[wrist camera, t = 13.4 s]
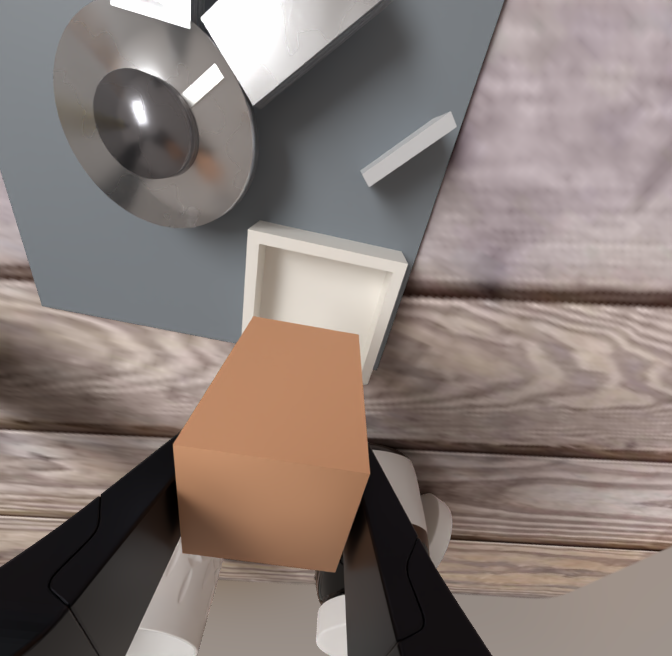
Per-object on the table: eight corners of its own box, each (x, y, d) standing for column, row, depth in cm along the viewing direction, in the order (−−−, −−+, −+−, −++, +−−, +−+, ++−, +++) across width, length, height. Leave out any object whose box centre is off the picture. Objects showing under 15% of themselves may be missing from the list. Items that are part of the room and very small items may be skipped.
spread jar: (327, 425, 25) (312, 604, 15) (462, 438, 26) (536, 624, 15) (318, 507, 31) (303, 675, 21) (428, 517, 32) (464, 689, 21)
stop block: (247, 398, 13) (182, 553, 8) (253, 316, 11) (172, 444, 6) (339, 413, 13) (335, 572, 8) (358, 334, 12) (370, 473, 6)
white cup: (250, 516, 33) (214, 647, 24) (217, 544, 36) (174, 669, 27) (181, 486, 31) (115, 619, 22) (152, 519, 34) (84, 646, 25)
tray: (365, 363, 22) (367, 384, 20) (250, 341, 21) (239, 360, 19) (401, 251, 18) (408, 264, 16) (259, 220, 17) (247, 229, 15)
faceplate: (376, 367, 22) (380, 399, 19) (46, 304, 21) (-3, 328, 18) (549, -140, 11) (621, -243, 8) (-154, -363, 9) (-376, -589, 6)
